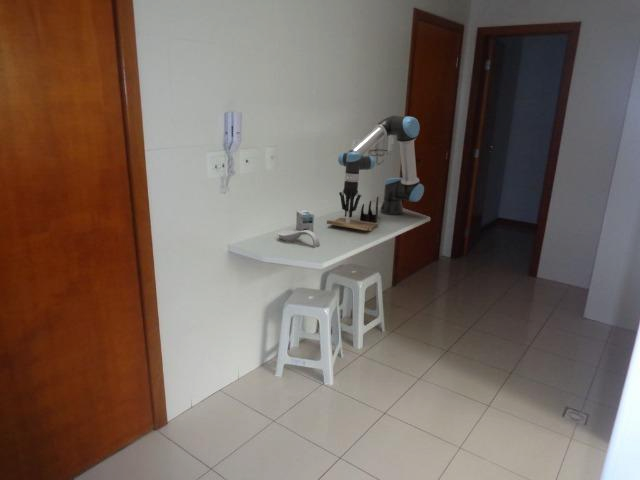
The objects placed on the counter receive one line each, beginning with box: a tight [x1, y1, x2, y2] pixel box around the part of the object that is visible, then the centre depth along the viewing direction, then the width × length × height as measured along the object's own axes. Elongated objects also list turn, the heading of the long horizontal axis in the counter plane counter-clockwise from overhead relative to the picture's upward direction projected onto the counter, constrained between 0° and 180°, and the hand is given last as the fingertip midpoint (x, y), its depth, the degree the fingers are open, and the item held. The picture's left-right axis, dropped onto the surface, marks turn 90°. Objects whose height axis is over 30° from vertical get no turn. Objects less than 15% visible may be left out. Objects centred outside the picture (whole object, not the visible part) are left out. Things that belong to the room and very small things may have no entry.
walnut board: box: [334, 217, 379, 231], centre depth 275 cm, size 9×24×2 cm, turn 64°
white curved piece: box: [277, 230, 321, 248], centre depth 237 cm, size 24×12×7 cm, turn 56°
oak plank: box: [326, 219, 373, 231], centre depth 266 cm, size 10×24×2 cm, turn 64°
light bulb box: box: [295, 209, 315, 235], centre depth 257 cm, size 11×7×11 cm, turn 22°
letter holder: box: [359, 196, 379, 223], centre depth 289 cm, size 10×20×14 cm, turn 171°
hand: (347, 222), depth 263 cm, fingers closed
